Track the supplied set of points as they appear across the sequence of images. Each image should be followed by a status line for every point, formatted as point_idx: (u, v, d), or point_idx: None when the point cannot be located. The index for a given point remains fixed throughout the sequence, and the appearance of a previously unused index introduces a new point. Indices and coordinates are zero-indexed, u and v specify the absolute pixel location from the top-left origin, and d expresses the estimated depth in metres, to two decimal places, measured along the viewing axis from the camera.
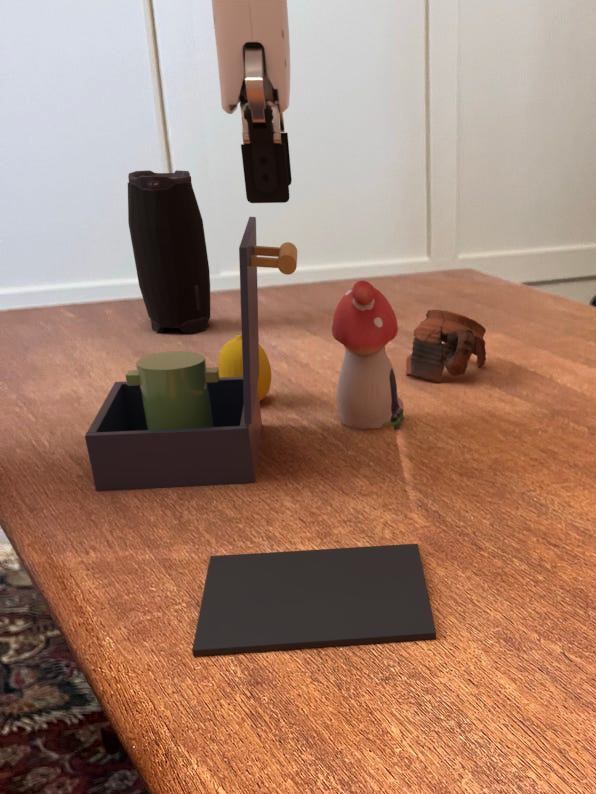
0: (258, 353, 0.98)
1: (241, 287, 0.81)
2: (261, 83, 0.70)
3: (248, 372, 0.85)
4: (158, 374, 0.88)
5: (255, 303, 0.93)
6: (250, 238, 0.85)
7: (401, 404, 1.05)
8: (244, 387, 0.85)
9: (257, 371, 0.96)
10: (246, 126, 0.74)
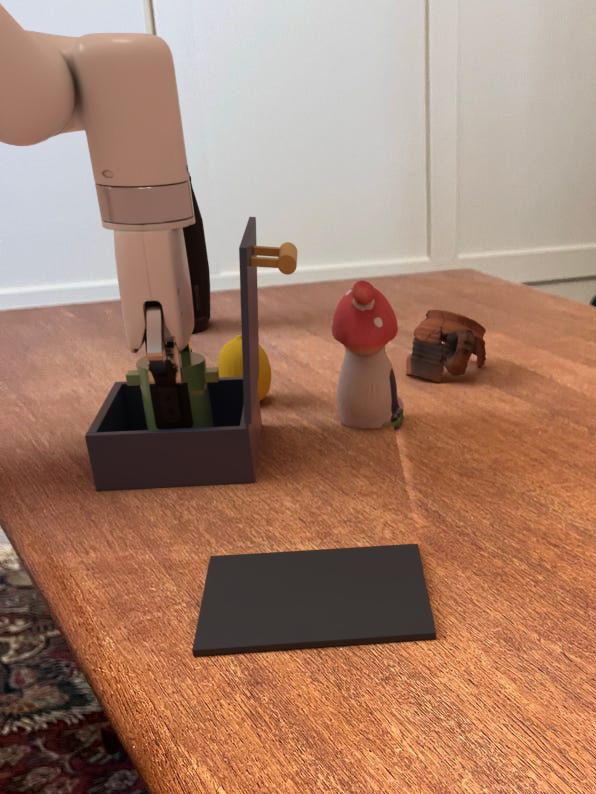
0: (258, 353, 0.98)
1: (241, 287, 0.81)
2: (161, 357, 0.83)
3: (248, 372, 0.85)
4: None
5: (255, 303, 0.93)
6: (250, 238, 0.85)
7: (401, 404, 1.05)
8: (244, 387, 0.85)
9: (257, 371, 0.96)
10: None
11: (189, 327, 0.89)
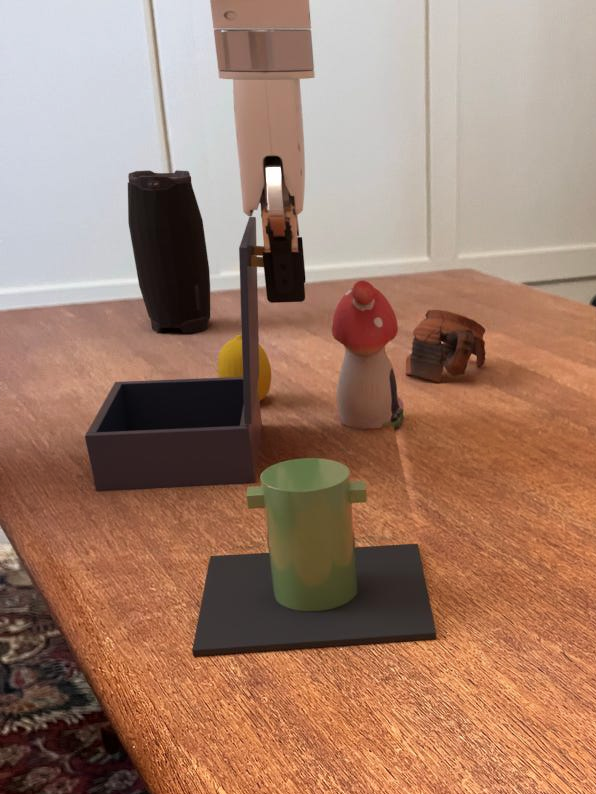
0: (258, 353, 0.98)
1: (241, 287, 0.81)
2: (282, 214, 0.79)
3: (248, 372, 0.85)
4: (293, 497, 0.66)
5: (255, 303, 0.93)
6: (250, 238, 0.85)
7: (401, 404, 1.05)
8: (244, 387, 0.85)
9: (257, 371, 0.96)
10: (267, 240, 0.83)
11: None
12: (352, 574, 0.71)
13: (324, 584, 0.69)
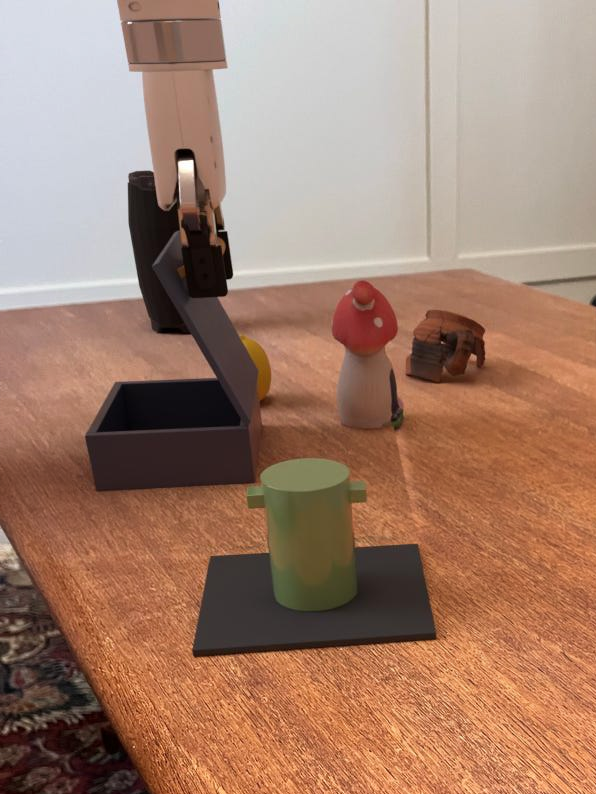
0: (247, 354, 0.98)
1: (173, 302, 0.81)
2: (195, 208, 0.78)
3: (222, 376, 0.85)
4: (293, 497, 0.66)
5: (215, 309, 0.92)
6: (168, 252, 0.84)
7: (401, 404, 1.05)
8: (226, 392, 0.85)
9: (251, 371, 0.96)
10: (184, 234, 0.82)
11: (222, 185, 0.83)
12: (352, 574, 0.71)
13: (324, 584, 0.69)
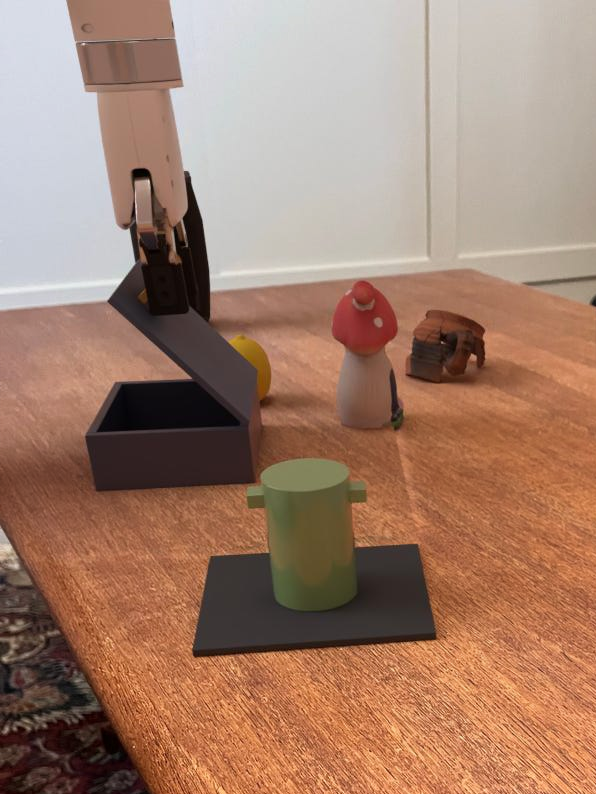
0: (241, 357, 0.98)
1: (138, 328, 0.82)
2: (151, 227, 0.78)
3: (208, 385, 0.85)
4: (293, 497, 0.66)
5: (193, 324, 0.93)
6: (124, 283, 0.85)
7: (401, 404, 1.05)
8: (217, 399, 0.85)
9: (247, 372, 0.96)
10: (144, 253, 0.82)
11: (181, 203, 0.84)
12: (352, 574, 0.71)
13: (324, 584, 0.69)
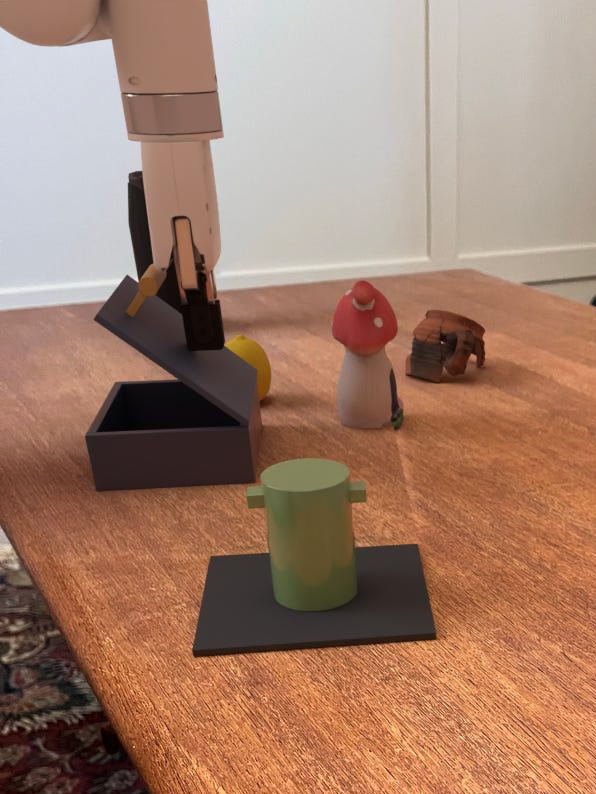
0: (239, 359, 0.98)
1: (128, 342, 0.82)
2: (196, 288, 0.83)
3: (203, 390, 0.85)
4: (293, 497, 0.66)
5: None
6: (111, 299, 0.85)
7: (401, 404, 1.05)
8: (214, 403, 0.86)
9: (246, 373, 0.96)
10: (184, 297, 0.87)
11: (217, 248, 0.86)
12: (352, 574, 0.71)
13: (324, 584, 0.69)
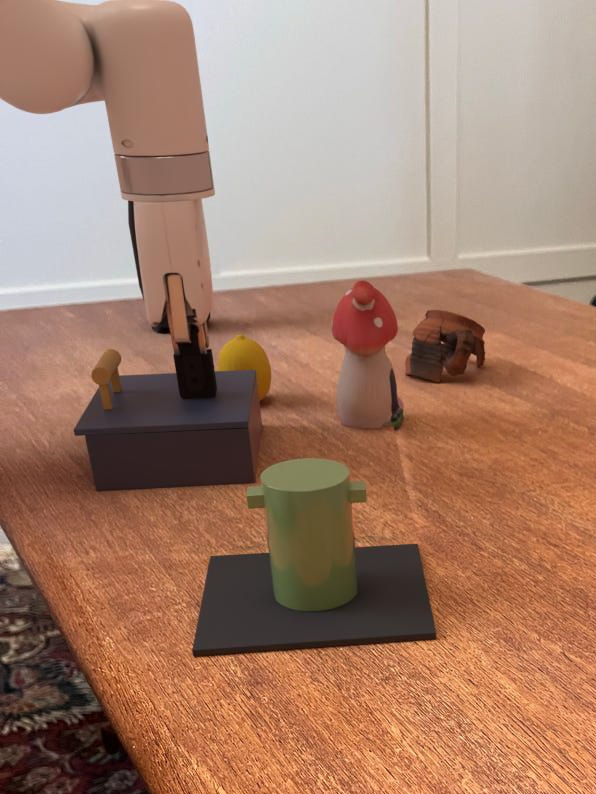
0: (233, 373, 0.99)
1: (111, 433, 0.86)
2: (188, 341, 0.85)
3: (194, 425, 0.86)
4: (293, 497, 0.66)
5: (171, 385, 0.95)
6: (88, 408, 0.90)
7: (401, 404, 1.05)
8: (210, 428, 0.87)
9: (241, 380, 0.97)
10: (177, 348, 0.89)
11: (209, 301, 0.88)
12: (352, 574, 0.71)
13: (324, 584, 0.69)
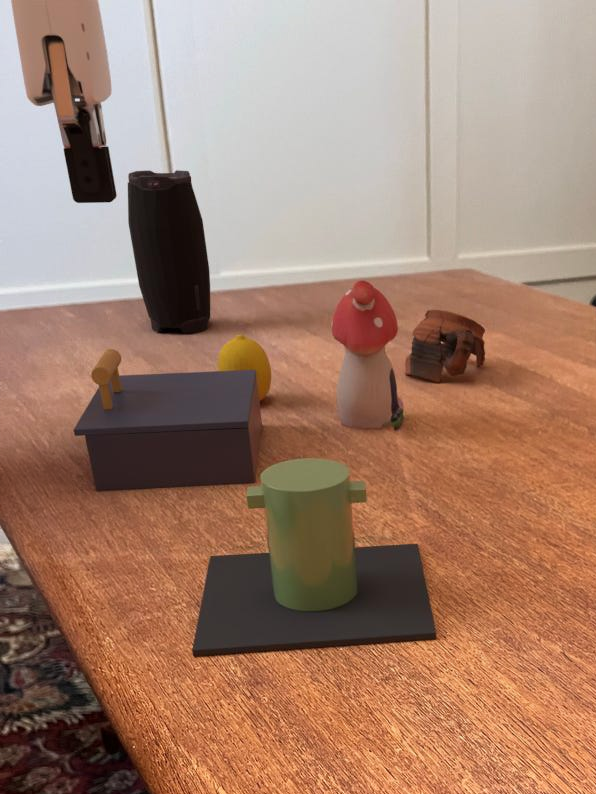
0: (233, 373, 0.99)
1: (111, 433, 0.86)
2: (73, 121, 0.76)
3: (194, 425, 0.86)
4: (293, 497, 0.66)
5: (171, 385, 0.95)
6: (88, 408, 0.90)
7: (401, 404, 1.05)
8: (210, 428, 0.87)
9: (241, 380, 0.97)
10: (66, 138, 0.79)
11: (101, 83, 0.78)
12: (352, 574, 0.71)
13: (324, 584, 0.69)
